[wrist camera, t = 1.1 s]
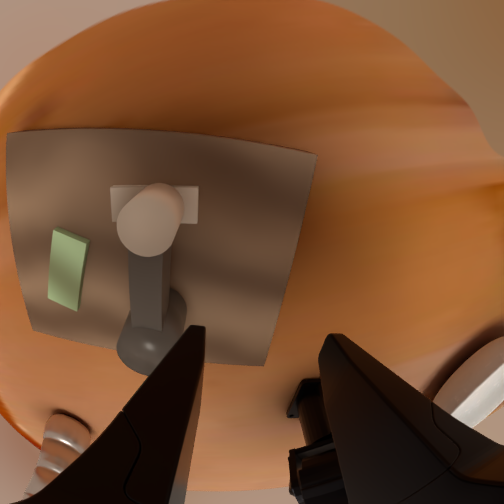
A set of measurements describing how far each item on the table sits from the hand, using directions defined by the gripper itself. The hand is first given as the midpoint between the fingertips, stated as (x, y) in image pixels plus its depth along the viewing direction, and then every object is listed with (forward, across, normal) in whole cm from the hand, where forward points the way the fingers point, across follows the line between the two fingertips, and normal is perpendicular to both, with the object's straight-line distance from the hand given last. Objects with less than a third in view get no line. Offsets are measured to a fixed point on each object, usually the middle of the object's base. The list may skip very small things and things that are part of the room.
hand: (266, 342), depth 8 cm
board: (+12, +6, +4) cm, 14 cm away
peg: (+10, +4, +3) cm, 11 cm away
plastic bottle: (+12, +18, +30) cm, 38 cm away
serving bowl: (+12, -38, +19) cm, 44 cm away
